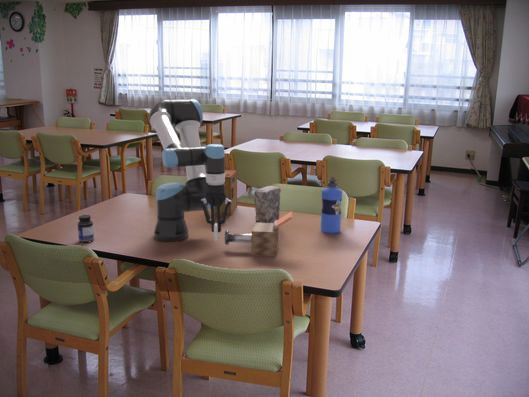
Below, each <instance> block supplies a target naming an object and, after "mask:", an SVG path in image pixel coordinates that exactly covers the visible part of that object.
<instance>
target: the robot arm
mask: <svg viewBox="0 0 529 397" xmlns="http://www.w3.org/2000/svg"><path fill="white" fill-rule="evenodd" d="M203 118H204V117H203V110H202V106H201V103H200V102H199V101H198V100H196V99H194V98H193V99H189V98H186V99H185V98H184V99H181V98H180V99H162V100H159V101H157V102H156V103H155V104H154V105H153V106H152V107H151V109H150V111H149V112H148V122H149V124H150V126H151V128H152V129H154V130H155V132H156V135H157V137H158V138H159V142H160V143H161V145H162V148H163V150H162V152H161V160H162V163H163V166H164V167H165V168H178V167H179V168H180V167H185V170H186V171H185V172H186V177H187V180H186V181H185V183H183V182H179V181H177V182H176V181H174V182H173V181H172V182H167V183H164V184H161V185H160V186H158V187H156V196H155V199H156V215H157V217H156V218H157V219H156V223H155V228H154V229H153V237H154V239H155V238H156V240H157V241H161V242H162V241H163V242H176V241H182V240H185V239H187V238H188V237H189V236H190V234H189V227H188V225H187V223H186V220H185V213H189V212H198V211H203V214H204V217H205V221H206V223H207V224H210V226H211V227H210V228H211V233H213V240H214V241H215V242H216V241H219V239H220V233H221V232H222V225H224V224H225V223H226V221H227V217H228V216H227V213H228V209H229V205H230V204H231V202H232V200H229V199H227V198H226V195H225V184H224V182H225V170H226V169H225V168H226V165H225V164H226V161H225V159H226V158H225V157H226V156H225V155H226V153H225V152H226V151H225V146H224V145H223V144H220V143H211V144H207V145H201V140H200V134H199V128H200V127H201V124H202V123H203V120H204V119H203ZM176 131H177V132H178V133H179V136H178V134H177V132H176ZM179 138H180V139H179ZM224 201H225V204H226V206H225V210H224V215H223V216H221V205H222V204H223V202H224ZM215 206H217V216H215ZM216 220H217V223H216Z"/></svg>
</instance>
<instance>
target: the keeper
mask: <svg viewBox="0 0 529 397" xmlns="http://www.w3.org/2000/svg"><path fill="white" fill-rule="evenodd" d="M293 215H294V213H293V211H292V210H291V211H290V212H288V213H286V214H284V215H283V216H282V217H279V220H275V221H274V225H273V230H276V229H277V228H278V227H279V228H280V227H281V226H283V225H284V224H286V223H288V222H289V221H291V220H292V219H293Z"/></svg>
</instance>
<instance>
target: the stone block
mask: <svg viewBox="0 0 529 397" xmlns="http://www.w3.org/2000/svg"><path fill="white" fill-rule="evenodd" d="M281 191H282V190H281V187H279V186H275V185H267V186H264V187H261V188H258V189H256V190H254V207H255V208H254V210H255V216H254V217H255V223H274V221H275V220H279V219H280V208H281V206H280V205H281Z"/></svg>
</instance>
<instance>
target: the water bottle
mask: <svg viewBox="0 0 529 397" xmlns="http://www.w3.org/2000/svg"><path fill="white" fill-rule="evenodd" d="M327 180H328V182H327V187H326V188H323V189H321V196H320V197H321V203H322V206H321V211H320V212H321V213H320V232H321V233H322V234H327V235H337V234H340V233H341V226H342V225H341V224H342V208H341V206H342V200H343V189H340V188H338V182H337V181H338V180H337V179H336V177H333V176H331V177H329V179H327Z"/></svg>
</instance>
